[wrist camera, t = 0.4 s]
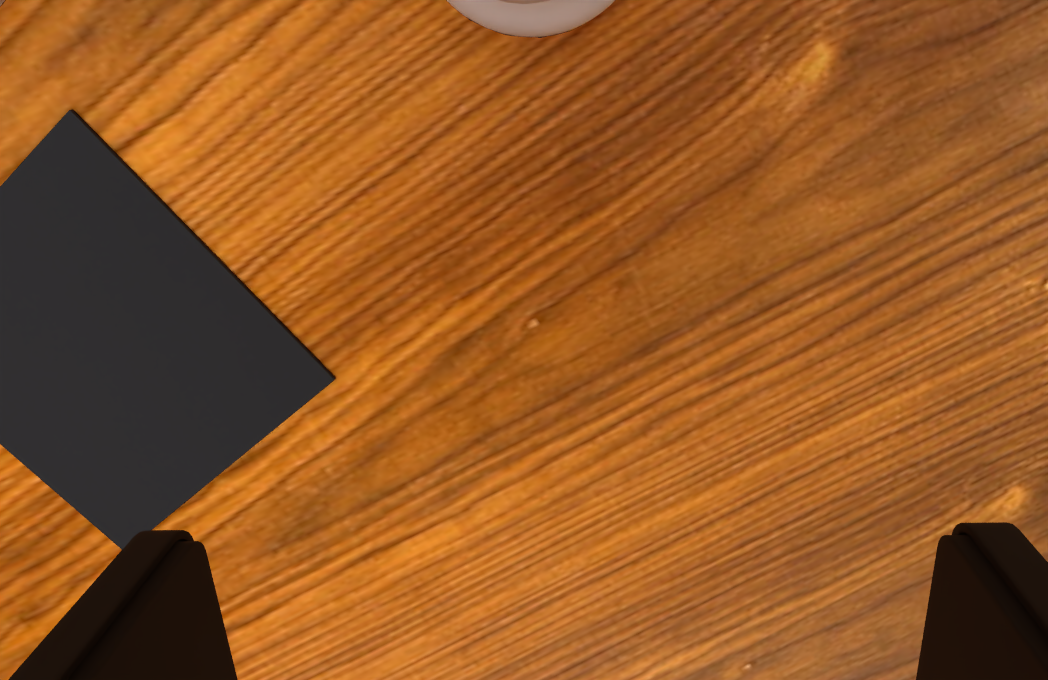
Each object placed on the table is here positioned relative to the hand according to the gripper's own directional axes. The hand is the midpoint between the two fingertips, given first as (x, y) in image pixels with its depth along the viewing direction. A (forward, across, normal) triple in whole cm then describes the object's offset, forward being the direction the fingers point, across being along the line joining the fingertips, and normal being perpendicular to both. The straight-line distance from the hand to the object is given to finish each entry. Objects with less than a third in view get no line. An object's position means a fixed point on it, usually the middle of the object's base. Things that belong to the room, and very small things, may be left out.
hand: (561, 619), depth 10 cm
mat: (+21, +20, +4) cm, 29 cm away
